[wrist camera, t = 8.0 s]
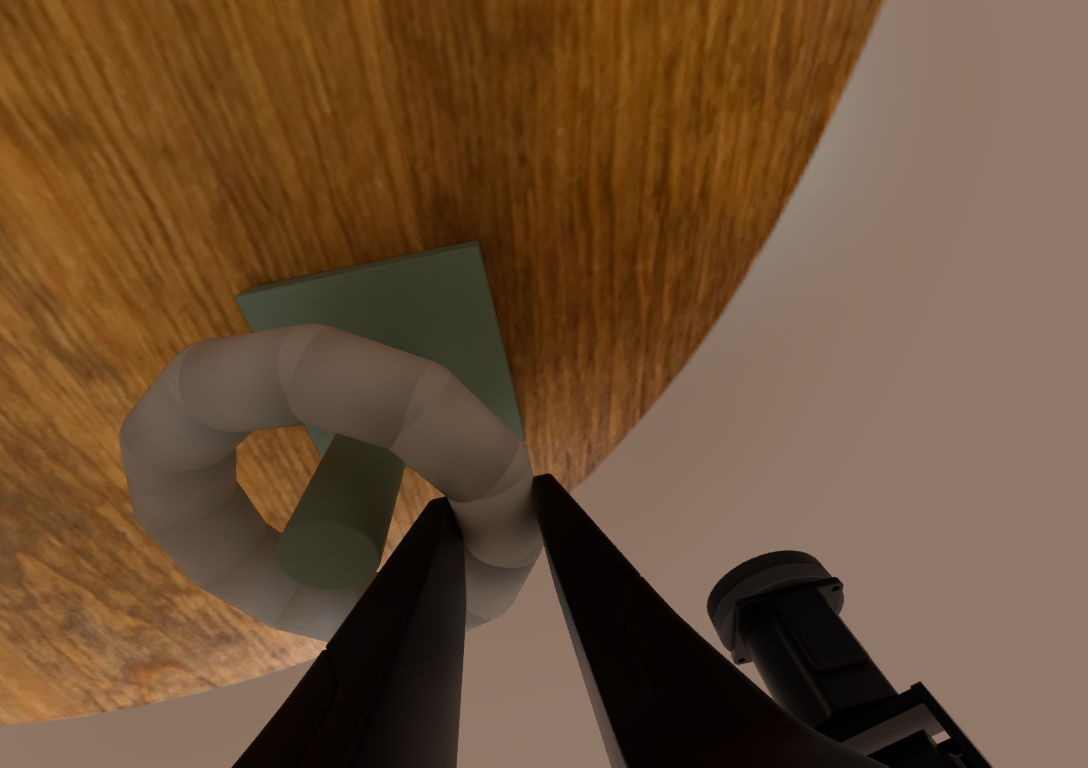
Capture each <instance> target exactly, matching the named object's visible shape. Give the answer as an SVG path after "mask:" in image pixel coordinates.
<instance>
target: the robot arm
mask: <svg viewBox="0 0 1088 768" xmlns="http://www.w3.org/2000/svg"><path fill="white" fill-rule="evenodd" d="M533 491H534V499H535V507H536V515H537V520H538V524H539V528H540V532H541V535H542V539H543V543H544V547H545V551H546V555H547V558H548V562H549V566H550V570H551V574H552V578H553V581H554V585H555V589H556V592H557V595H558V599H559V602H560V605H561V608H562V611H563V615H564V617H565V621H566V624H567V627H568V630H569V633H570V636H571V640H572V643H573V646H574V649H575V653H576V656H577V659H578V662H579V665H580V668H581V672H582V675H583V678H584V681H585V685H586V688H587V691H588V694H589V697H590V701H591V704H592V707H593V710H594V713H595V716H596V720H597V723H598V726H599V729H600V732H601V735H602V739H603V742H604V745H605V748H606V752H607V755H608V758H609V761H610V764H611V767H612V768H994V767H993V766H992V765H991V764H990V762H989V761H988V760H987V759H986V758H985V756H984V755H983V754H982V753H981V752H980V750H979V749H978V748H977V747H976V746H975V745H974V743H973V742H972V741H971V740H970V739H969V737H968V736H967V735H966V734H965V733H964V732H963V730H962V729H961V728H960V727H959V726H958V724H957V723H956V722H955V721H954V719H953V718H952V717H951V716H950V715H949V714H948V712H947V711H946V710H945V709H944V708H943V707H942V705H941V704H940V703H939V702H938V701H937V700H936V699H935V698H934V696H933V695H932V694H931V693H930V692H929V691H928V690H927V688H926V687H925V686H924V685H923V684H922V683H921V682H920V681H919V682H917V683H915V684H913V685H911V686H910V687H911V689H909V690H907V691H905V692H903V693H901V694H898V693H897V692H896V690H895V689H894V688H893V686H892V685H891V684H890V683H889V681H888V680H887V679H886V677H885V676H884V675H883V673H882V672H881V671H880V670H879V668H878V667H877V666H876V665H875V663H874V662H873V660H872V659H871V658H870V656H869V654H868V653H867V652H866V650H865V649H864V648H863V646H862V645H861V644H860V642H859V641H858V640H857V639H856V637H855V636H854V635H853V634H852V632H851V631H850V630H849V629H848V627H847V626H846V624H845V623H844V622H843V621H842V619H841V618H840V617H839V615H838V614H837V609H838V606H839V602H840V598H841V594H842V590H843V584H842V582H841V581H840V580H839V579H838V578H837V577H831V578H827V579H822V580H818V581H814V582H810V583H805V584H801V585H797V586H792V587H788V588H784V589H780V590H775V591H771V592H767V593H763V594H758V595H754V596H750V597H745V598H742V599H739V600H738V601H737V602H736V603H735V605H734V619H733V634H732V649H731V657H732V659H733V661H734V663H735V664H738V665H740V664H745V663H749V662H754V664H755V666H756V668H757V670H758V672H759V674H760V675H761V677H762V679H763V681H764V683H765V685H766V687H767V689H768V690H769V692H770V694H771V696H772V698H773V699H772V698H771V697H769V696H768V695H767V694H766V693H765V692H764V691H762V690H761V689H760V688H759V687H758V686H757V685H756V684H755V683H753V682H752V681H751V680H750V679H749V678H748V677H747V676H746V675H744V674H743V673H742V672H741V671H740V670H739V669H738V668H736V667H735V666H734V665H733V664H732V663H731V662H730V661H729V660H727V659H726V658H725V657H724V656H723V655H722V654H721V653H720V652H718V651H717V650H716V649H715V648H714V647H713V646H712V645H710V644H709V643H708V642H707V641H706V640H705V639H704V638H703V637H701V636H700V635H699V634H698V633H697V632H696V631H695V630H694V629H693V628H692V627H691V626H690V625H689V624H688V623H687V622H685V621H684V620H683V619H682V618H681V617H680V616H679V615H678V614H677V613H676V612H675V611H674V610H673V609H672V608H671V607H670V606H669V605H668V604H667V603H666V602H665V601H664V599H663V598H662V597H661V596H660V595H659V594H658V593H657V592H656V591H655V590H654V589H653V588H652V587H651V586H650V584H649V583H648V582H647V581H646V580H645V579H644V578H643V577H640V573H639V572H638V571H637V570H636V569H635V568H634V567H633V566H632V564H631V563H630V562H629V561H628V560H627V559H626V558H625V556H624V555H623V554H622V553H621V552H620V551H619V550H618V549H617V547H616V546H615V545H614V544H613V543H612V542H611V541H610V540H609V539H608V537H607V536H606V535H605V534H604V533H603V532H602V531H601V529H600V528H599V527H598V526H597V525H596V524H595V523H594V521H593V520H592V519H591V518H590V517H589V516H588V515H587V514H586V512H585V511H584V510H583V509H582V508H581V507H580V506H579V505H578V503H577V502H576V501H575V500H574V499H573V498H572V497H571V496H570V494H569V493H568V492H567V491H566V490H565V489H564V488H563V487H562V485H561V484H560V483H559V482H558V481H557V480H556V479H555V478H554V476H553V475H551V474H549V473H548V474H543V475H539V476H535V477H533ZM466 603H467V600H466V577H465V558H464V539H463V536H462V534H461V531H460V529H459V526H458V523H457V521H456V518H455V516H454V513H453V511H452V508H451V506H450V503H449V501H448V498H447V496H445V497H441V498H436V499H433V500H431V501H430V502H429V503H428V504H427V506H426V507H425V509H424V510H423V511H422V513H421V514H420V516H419V517H418V518H417V520H416V521H415V523H414V524H413V525H412V527H411V528H410V529H409V531H408V532H407V534H406V535H405V536H404V538H403V539H402V541H401V542H400V543H399V545H398V546H397V548H396V549H395V550H394V552H393V553H392V555H391V556H390V557H389V559H388V560H387V562H386V563H385V564H384V566H383V567H382V568H381V570H380V571H379V573H378V574H377V575H376V577H375V578H374V580H373V581H372V582H371V584H370V585H369V587H368V588H367V589H366V591H365V592H364V594H363V595H362V596H361V598H360V599H359V601H358V602H357V603H356V605H355V606H354V608H353V609H352V610H351V612H350V613H349V614H348V616H347V617H346V619H345V620H344V621H343V623H342V624H341V626H340V627H339V628H338V630H337V631H336V633H335V634H334V635H333V637H332V638H331V640H330V641H329V642H328V644H327V645H326V650H323V651H322V652H321V653H320V655H319V656H318V657H317V659H316V660H315V662H314V663H313V664H312V666H311V667H310V669H309V670H308V671H307V673H306V674H305V675H304V677H303V678H302V679H301V681H300V682H299V683H298V685H297V686H296V687H295V689H294V690H293V691H292V693H291V694H290V695H289V697H288V698H287V699H286V701H285V702H284V703H283V705H282V706H281V707H280V708H279V710H278V711H277V712H276V714H275V715H274V716H273V717H272V719H271V720H270V721H269V723H267V725H266V726H265V727H264V728H263V730H262V731H261V732H260V734H259V735H258V736H257V737H256V739H255V740H254V741H253V742H252V743H251V745H250V746H249V747H248V748H247V749H246V751H245V752H244V753H243V754H242V755H241V757H240V758H239V759H238V760H237V762H236V763H235V764H234V765H233V766H232V768H456V767H457V751H458V735H459V719H460V703H461V686H462V671H463V655H464V639H465V624H466ZM944 730H945V731H946V732H947V734H948V735H949V736H950V737H951V738H950V739H947V740H945V741H943V742H941V743H939V744H937V743H936V742H935V741H934V740H933V739H932V737H931V736H933V735H935V734H938V733H940V732H942V731H944Z"/></svg>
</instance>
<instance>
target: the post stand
mask: <svg viewBox="0 0 1088 768" xmlns="http://www.w3.org/2000/svg"><path fill="white" fill-rule="evenodd" d="M234 298H235V300H236V302H237V304H238V306H239V308H240V310H241V311H242V313H243V315H244V317H245V319H246V320H247V322H248V324H249V326H250V328H251V330H252V331H253V332H257V331H264V330H270V329H276V328H283V327H289V326H296V325H302V324H321V325H326V326H331V327H334V328H337V329H340V330H343V331H346V332H349V333H352V334H355V335H358V336H361V337H364V338H367V339H369V340H372V341H375V342H378V343H381V344H384V345H387V346H390V347H393V348H396V349H399V350H402V351H405V352H408V353H411V354H413V355H416V356H419V357H422V358H425V359H428V360H431V361H434V362H436V363H438V364H440V365H442V366H444V367H445V368H446V369H448V370H449V371H450V372H451V373H452V374H453V375H454V376H455V377H456V378H457V379H458V380H459V381H461V382H462V383H463V384H464V385H465V386H466V387H467V388H468V389H469V390H470V391H471V392H472V393H473V394H474V395H475V396H476V397H477V398H478V399H479V400H480V401H481V402H482V403H483V404H484V405H485V406H486V407H488V408H489V409H490V410H491V411H492V412H493V413H494V414H495V415H496V416H497V417H498V418H499V419H500V420H501V421H502V422H503V423H504V424H505V425H506V426H507V427H508V428H509V429H510V430H511V431H512V432H514V433H515V434H516V435H517V436H518V438H519V439H520V440H521V441H524V440H525V432H524V426H523V421H522V417H521V413H520V409H519V405H518V401H517V397H516V393H515V389H514V384H513V380H512V376H511V372H510V368H509V364H508V360H507V356H506V352H505V348H504V344H503V339H502V335H501V331H500V327H499V323H498V319H497V315H496V311H495V307H494V303H493V299H492V294H491V290H490V286H489V282H488V278H487V274H486V270H485V266H484V262H483V258H482V254H481V249H480V245H479V242H478V241H477V240H474V241H469V242H464V243H459V244H455V245H450V246H445V247H440V248H435V249H431V250H426V251H421V252H416V253H412V254H407V255H402V256H397V257H392V258H388V259H383V260H378V261H373V262H368V263H364V264H359V265H354V266H349V267H345V268H340V269H335V270H330V271H325V272H321V273H316V274H311V275H306V276H301V277H297V278H292V279H287V280H282V281H278V282H273V283H268V284H263V285H258V286H254V287H250V288H249V289H247V290H245V291H243V292H242V293H240V294H238V295H236V296H235V297H234ZM304 426H305V428H306V429H307V431H308V433H309V435H310V437H311V439H312V440H313V442H314V444H315V446H316V448H317V449H318V451H319V453H320V455H321V457H322V460H321V462H320V464H319V466H318V467H317V469H316V471H315V473H314V475H313V477H312V479H311V481H310V482H309V484H308V486H307V488H306V490H305V492H304V494H303V495H302V497H301V499H300V501H299V503H298V505H297V507H296V509H295V510H294V512H293V514H292V516H291V518H290V520H289V522H288V524H287V525H286V527H285V529H284V531H283V533H282V535H281V537H280V538H279V540H278V543H277V545H276V560H277V563H278V565H279V566H280V568H281V569H282V571H283V572H284V573H285V574H286V575H287V576H289V577H290V578H291V579H293V580H295V581H296V582H298V583H300V584H303V585H305V586H308V587H312V588H316V589H323V590H340V589H346V588H351V587H354V586H357V585H359V584H361V583H363V582H365V581H366V580H368V579H369V578H370V577H372V576H373V574H374V573H375V572H376V571H377V569H378V567H379V565H380V562H381V558H382V554H383V551H384V547H385V543H386V539H387V535H388V531H389V527H390V523H391V519H392V515H393V511H394V507H395V503H396V499H397V495H398V491H399V488H400V484H401V480H402V476H403V472H404V468H405V467H408V466H409V465H407V464H406V463H405V462H404V461H403V460H401V459H400V458H399V457H398V456H396V455H395V454H394V453H393V452H391V451H390V450H389V449H386V448H382V447H379V446H376V445H373V444H370V443H366V442H363V441H360V440H357V439H354V438H350V437H347V436H344V435H341V434H338V433H334V432H331V431H328V430H325V429H322V428H318V427H315V426H312V425H309V424H305V425H304Z"/></svg>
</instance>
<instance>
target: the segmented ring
mask: <svg viewBox="0 0 1088 768" xmlns="http://www.w3.org/2000/svg"><path fill="white" fill-rule="evenodd" d="M305 424H309V425H312V426H315V427H318V428H322V429H325V430H328V431H331V432H334V433H338V434H341V435H344V436H347V437H350V438H354V439H357V440H360V441H363V442H366V443H370V444H373V445H376V446H379V447H382V448H386V449H389V450H390V451H391V452H393V453H394V454H395V455H396V456H398V457H399V458H400V459H401V460H403V461H404V462H405V463H406V464H407V465H409V466H410V467H411V468H412V469H414V470H415V471H416V472H417V473H418V474H420V475H421V476H422V477H423V478H425V479H426V480H427V481H428V482H429V483H431V484H432V485H433V486H434V487H436V488H437V489H438V490H439V491H440V492H442V493H443V494H444V495H445V496H447V498H448V501H449V503H450V506H451V508H452V511H453V513H454V516H455V518H456V521H457V523H458V526H459V529H460V531H461V534H462V536H463V539H464V558H465V577H466V600H467V603H466V624H465V632H467V631H469V630H471V629H473V628H476V627H478V626H480V625H482V624H484V623H486V622H489V621H491V620H493V619H495V618H497V617H499V616H500V615H502V614H503V613H504V612H506V610H508V609H509V607H510V606H511V605H512V603H513V602H514V600H515V598H516V596H517V595H518V593H519V591H520V589H521V587H522V586H523V584H524V582H525V580H526V578H527V577H528V575H529V573H530V571H531V569H532V567H533V566H534V564H535V562H536V560H537V558H538V557H539V555H540V553H541V551H542V548H543V546H544V543H543V539H542V535H541V532H540V528H539V524H538V520H537V515H536V507H535V499H534V491H533V477H534V476H533V472H532V468H531V464H530V460H529V456H528V454H527V450H526V448H525V446H524V444H523V443H522V442H521V440H520V439H519V438H518V436H517V435H516V434H515V433H514V432H512V431H511V430H510V429H509V428H508V427H507V426H506V425H505V424H504V423H503V422H502V421H501V420H500V419H499V418H498V417H497V416H496V415H495V414H494V413H493V412H492V411H491V410H490V409H489V408H488V407H486V406H485V405H484V404H483V403H482V402H481V401H480V400H479V399H478V398H477V397H476V396H475V395H474V394H473V393H472V392H471V391H470V390H469V389H468V388H467V387H466V386H465V385H464V384H463V383H462V382H461V381H459V380H458V379H457V378H456V377H455V376H454V375H453V374H452V373H451V372H450V371H449V370H448V369H446V368H445V367H444V366H442V365H440V364H438V363H436V362H434V361H431V360H428V359H425V358H422V357H419V356H416V355H413V354H411V353H408V352H405V351H402V350H399V349H396V348H393V347H390V346H387V345H384V344H381V343H378V342H375V341H372V340H369V339H367V338H364V337H361V336H358V335H355V334H352V333H349V332H346V331H343V330H340V329H337V328H334V327H331V326H326V325H321V324H302V325H296V326H289V327H283V328H276V329H270V330H264V331H257V332H251V333H244V334H238V335H232V336H225V337H219V338H212V339H207V340H203V341H200V342H197V343H195V344H192V345H190V346H188V347H186V348H185V349H183V350H182V351H181V352H179V353H178V354H177V355H176V356H175V357H174V358H173V359H172V360H171V361H170V363H169V364H168V365H167V366H166V368H165V369H164V370H163V371H162V373H161V374H160V375H159V376H158V378H157V379H156V380H155V381H154V383H153V384H152V385H151V386H150V388H149V389H148V390H147V391H146V393H145V394H144V395H143V396H142V398H141V399H140V400H139V401H138V403H137V404H136V405H135V406H134V408H133V409H132V410H131V411H130V413H129V414H128V415H127V417H126V418H125V420H124V422H123V424H122V427H121V429H120V437H119V442H120V449H121V454H122V459H123V463H124V468H125V473H126V478H127V483H128V488H129V493H130V498H131V503H132V508H133V512H134V514H135V518H136V519H137V521H138V522H139V524H140V525H141V526H142V527H143V528H144V529H145V530H146V532H147V533H148V534H149V535H150V536H151V537H152V538H153V539H154V540H155V541H156V543H157V544H158V545H159V546H160V547H161V548H162V549H163V550H164V551H165V552H166V554H167V555H168V556H169V557H170V558H171V559H172V560H173V561H174V562H175V563H176V565H177V566H178V567H179V568H180V569H181V570H182V571H183V572H184V573H185V574H186V576H187V577H188V578H189V579H190V580H191V581H192V582H193V583H194V584H196V585H197V586H198V587H200V588H202V589H203V590H205V591H207V592H209V593H211V594H212V595H214V596H216V597H218V598H220V599H221V600H223V601H225V602H227V603H229V604H230V605H232V606H234V607H236V608H237V609H239V610H241V611H243V612H245V613H246V614H248V615H250V616H252V617H254V618H255V619H257V620H259V621H261V622H263V623H264V624H266V625H268V626H270V627H272V628H275V629H278V630H282V631H286V632H290V633H294V634H298V635H302V636H306V637H310V638H314V639H318V640H322V641H326V642H329V641H330V640H331V638H332V637H333V635H334V634H335V633H336V631H337V630H338V628H339V627H340V626H341V624H342V623H343V621H344V620H345V619H346V617H347V616H348V614H349V613H350V612H351V610H352V609H353V608H354V606H355V605H356V603H357V602H358V601H359V599H360V598H361V596H362V595H363V594H364V592H365V591H366V589H367V588H368V587H369V585H370V584H371V582H372V581H373V580H374V578H375V577H376V575H377V574H378V573H379V572H375V573H374V574H373V576H372V577H370V578H369V579H368V580H366V581H365V582H363V583H361V584H359V585H357V586H354V587H351V588H346V589H340V590H323V589H316V588H312V587H308V586H305V585H303V584H300V583H298V582H296V581H295V580H293V579H291V578H290V577H289V576H287V575H286V574H285V573H284V572H283V571H282V569H281V568H280V566H279V565H278V563H277V560H276V545H277V543H278V540H279V538H280V537H281V535H282V533H281V532H279V531H278V530H276V529H275V528H273V527H272V526H270V525H269V524H267V523H266V522H265V520H264V519H263V518H262V516H261V515H260V513H259V512H258V510H257V509H256V508H255V506H254V505H253V503H252V502H251V501H250V499H249V498H248V496H247V495H246V493H245V492H244V491H243V489H242V488H241V486H240V485H239V483H238V482H237V481H236V447H237V446H238V445H239V444H240V443H241V442H242V441H243V440H244V439H245V438H246V437H247V436H248V435H249V434H251V433H252V432H253V431H255V430H263V429H272V428H280V427H288V426H297V425H305Z"/></svg>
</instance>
